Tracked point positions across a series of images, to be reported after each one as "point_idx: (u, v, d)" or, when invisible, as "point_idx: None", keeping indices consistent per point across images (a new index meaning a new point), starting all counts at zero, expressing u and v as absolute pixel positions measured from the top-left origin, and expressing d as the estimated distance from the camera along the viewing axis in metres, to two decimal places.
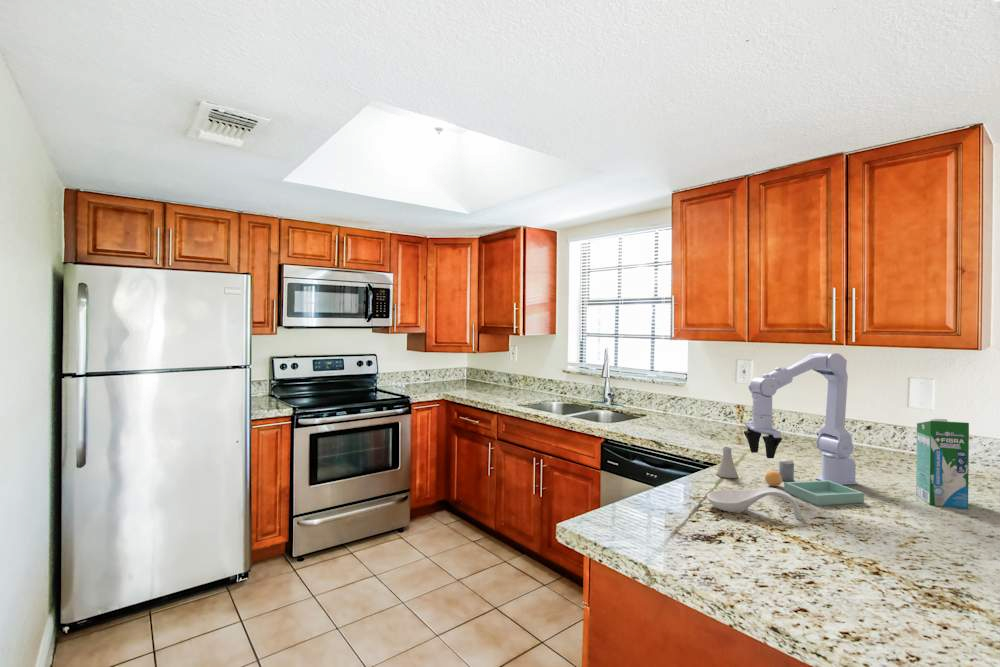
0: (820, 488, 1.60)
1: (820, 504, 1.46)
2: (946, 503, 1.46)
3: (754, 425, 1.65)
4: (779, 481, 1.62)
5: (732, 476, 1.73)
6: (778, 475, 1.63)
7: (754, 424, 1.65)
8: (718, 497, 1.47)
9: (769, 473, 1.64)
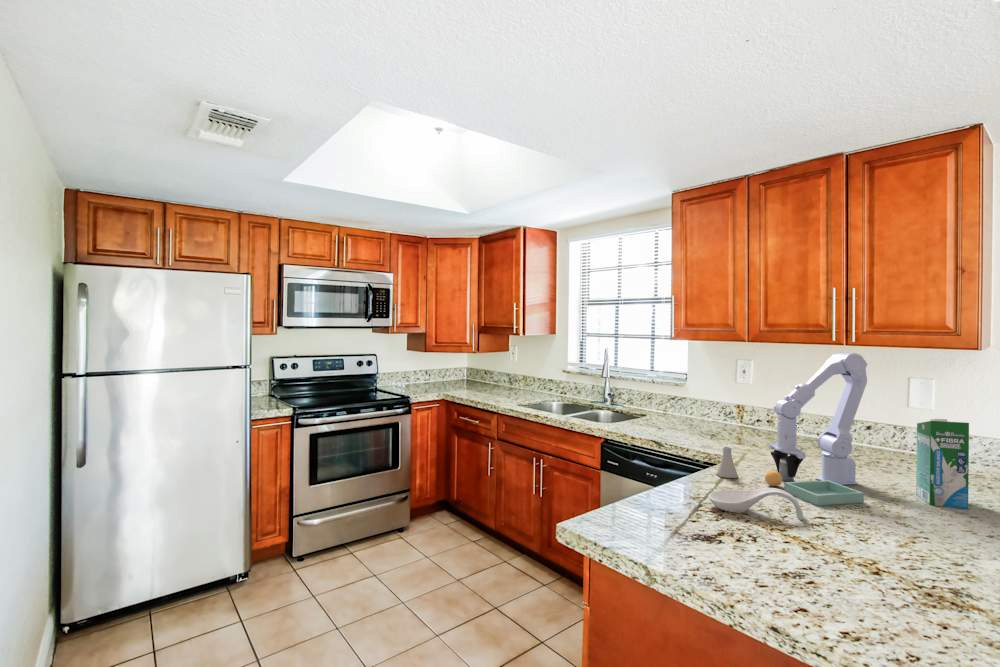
0: (820, 488, 1.60)
1: (820, 504, 1.46)
2: (946, 503, 1.46)
3: (779, 446, 1.71)
4: (779, 481, 1.62)
5: (732, 476, 1.73)
6: (778, 475, 1.63)
7: (779, 445, 1.71)
8: (719, 497, 1.47)
9: (769, 473, 1.64)
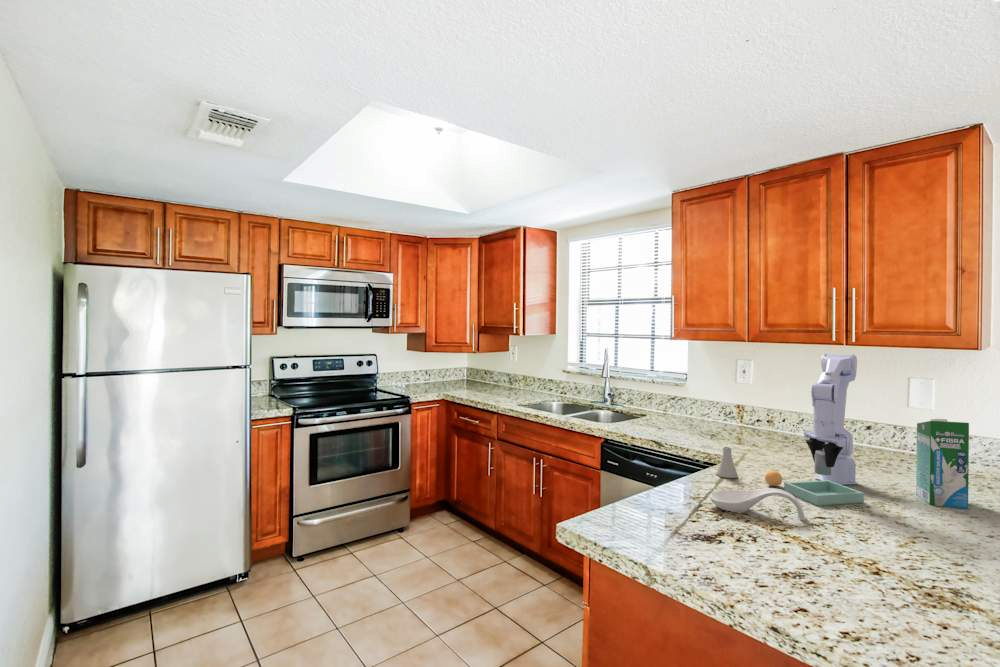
0: (820, 488, 1.60)
1: (820, 504, 1.46)
2: (946, 503, 1.46)
3: (815, 433, 1.57)
4: (779, 481, 1.62)
5: (732, 476, 1.73)
6: (778, 475, 1.63)
7: (815, 432, 1.57)
8: (721, 497, 1.47)
9: (769, 473, 1.64)
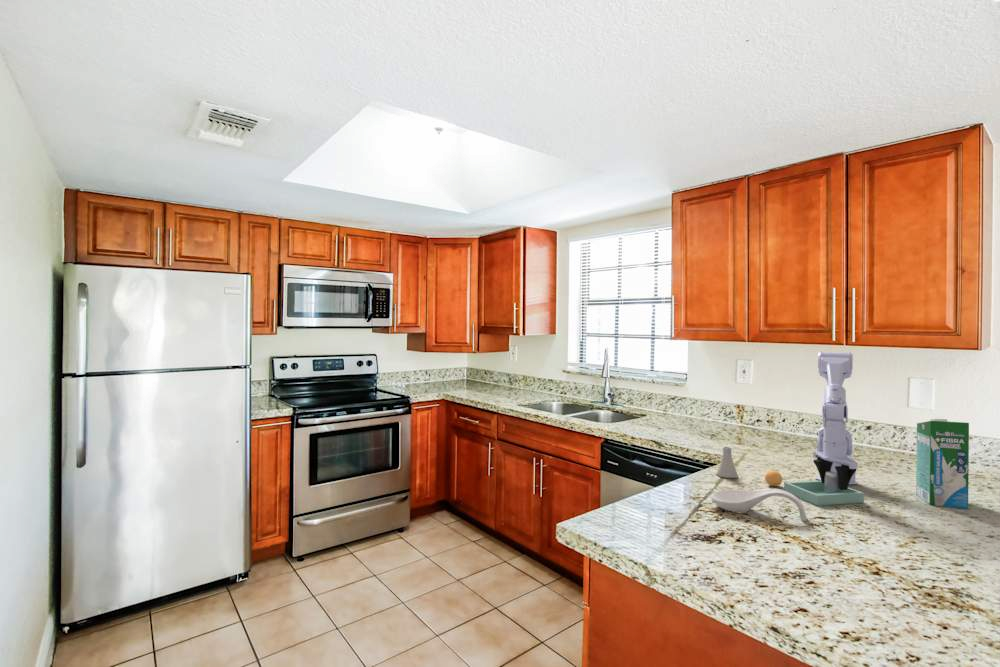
0: (820, 488, 1.60)
1: (820, 504, 1.46)
2: (946, 503, 1.46)
3: (826, 454, 1.54)
4: (779, 481, 1.62)
5: (732, 476, 1.73)
6: (778, 475, 1.63)
7: (826, 453, 1.54)
8: (723, 497, 1.47)
9: (769, 473, 1.64)
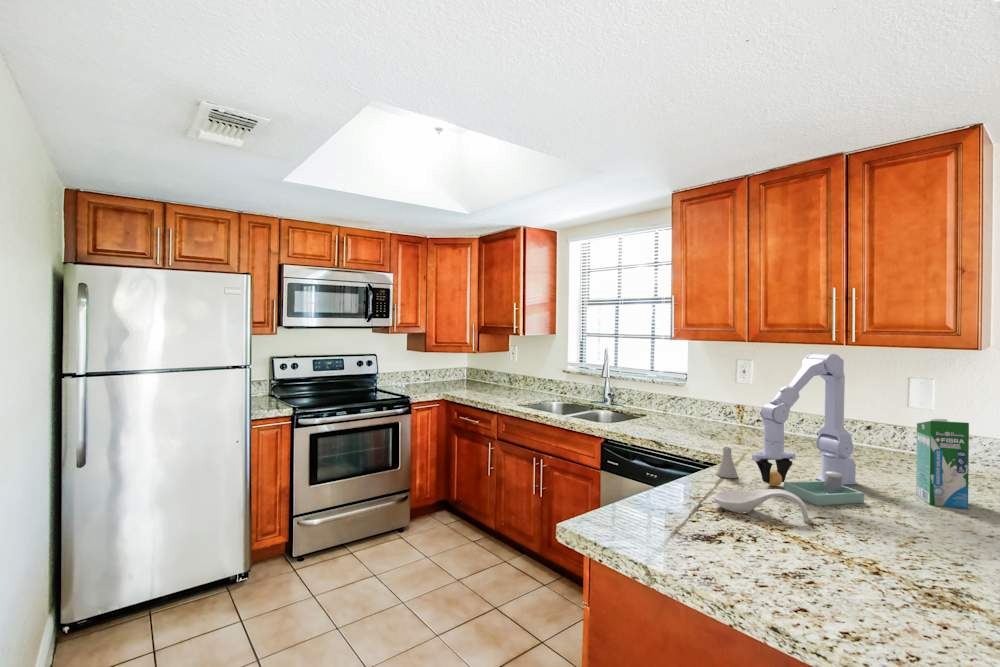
0: (820, 488, 1.60)
1: (820, 504, 1.46)
2: (946, 503, 1.46)
3: None
4: (779, 481, 1.62)
5: (732, 476, 1.73)
6: (778, 475, 1.63)
7: None
8: (726, 497, 1.47)
9: None
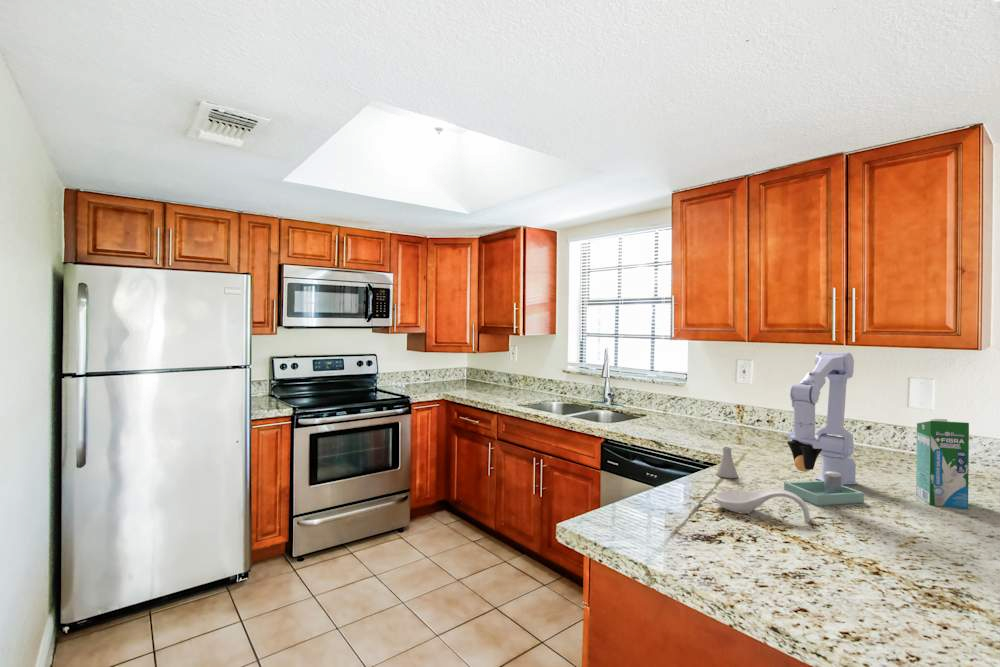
0: (820, 488, 1.60)
1: (820, 504, 1.46)
2: (946, 503, 1.46)
3: (794, 434, 1.55)
4: None
5: (732, 476, 1.73)
6: None
7: (794, 433, 1.55)
8: (727, 497, 1.47)
9: None
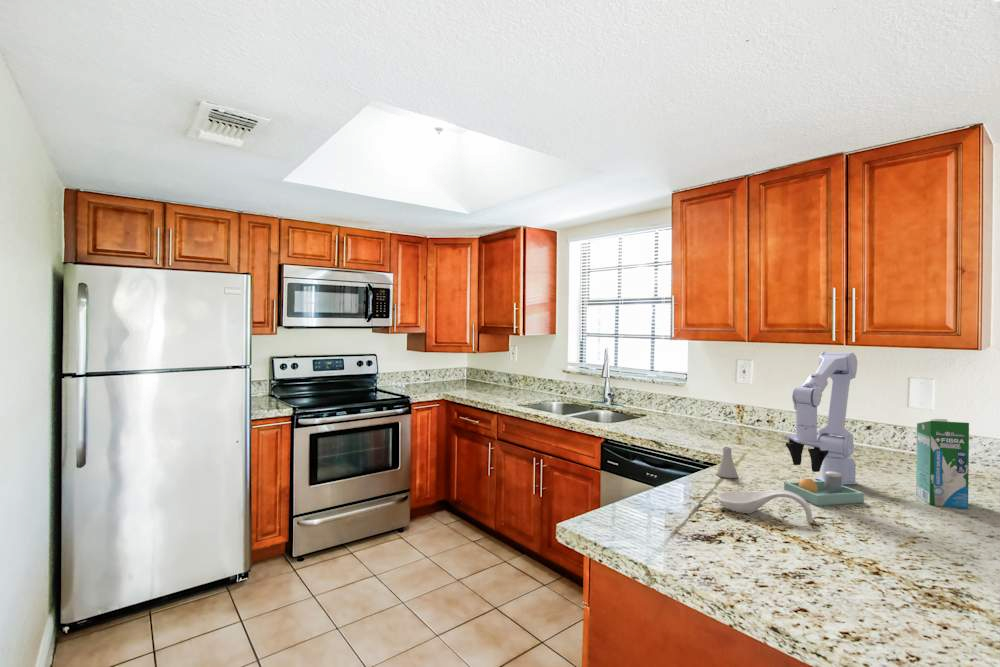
0: (820, 488, 1.60)
1: (820, 504, 1.46)
2: (946, 503, 1.46)
3: (798, 437, 1.58)
4: None
5: (732, 476, 1.73)
6: None
7: (798, 436, 1.58)
8: (729, 497, 1.47)
9: (810, 479, 1.55)
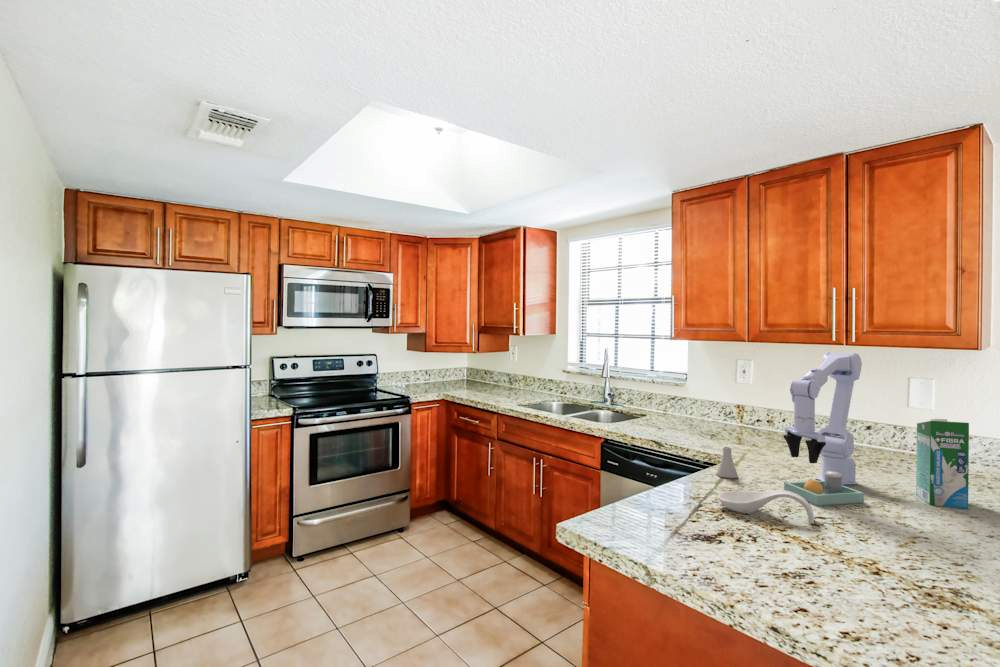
0: None
1: (820, 504, 1.46)
2: (946, 503, 1.46)
3: (796, 429, 1.60)
4: None
5: (732, 476, 1.73)
6: None
7: (796, 428, 1.60)
8: (731, 497, 1.47)
9: (820, 484, 1.52)
